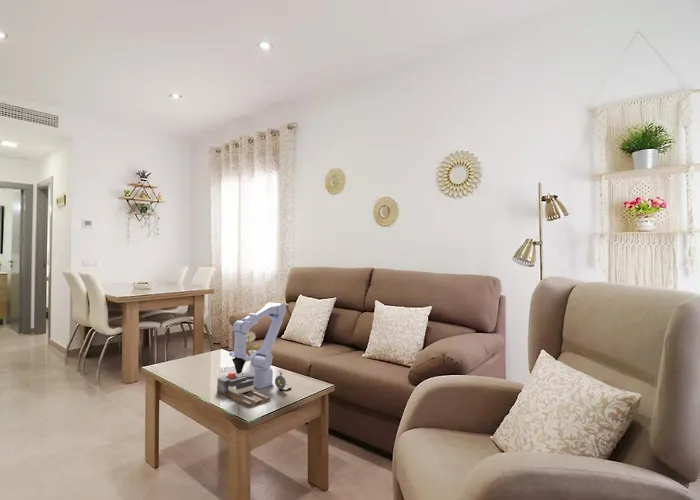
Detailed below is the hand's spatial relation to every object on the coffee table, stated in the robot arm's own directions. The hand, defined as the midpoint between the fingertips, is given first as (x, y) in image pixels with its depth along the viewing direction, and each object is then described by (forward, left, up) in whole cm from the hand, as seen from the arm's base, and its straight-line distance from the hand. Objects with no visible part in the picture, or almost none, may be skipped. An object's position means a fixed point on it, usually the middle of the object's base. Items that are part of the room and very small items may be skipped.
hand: (238, 373), depth 184 cm
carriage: (0, +2, -8) cm, 8 cm away
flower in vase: (-21, -19, -11) cm, 30 cm away
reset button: (0, -6, -6) cm, 8 cm away
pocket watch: (-20, +10, -11) cm, 25 cm away
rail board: (0, +4, -10) cm, 11 cm away
